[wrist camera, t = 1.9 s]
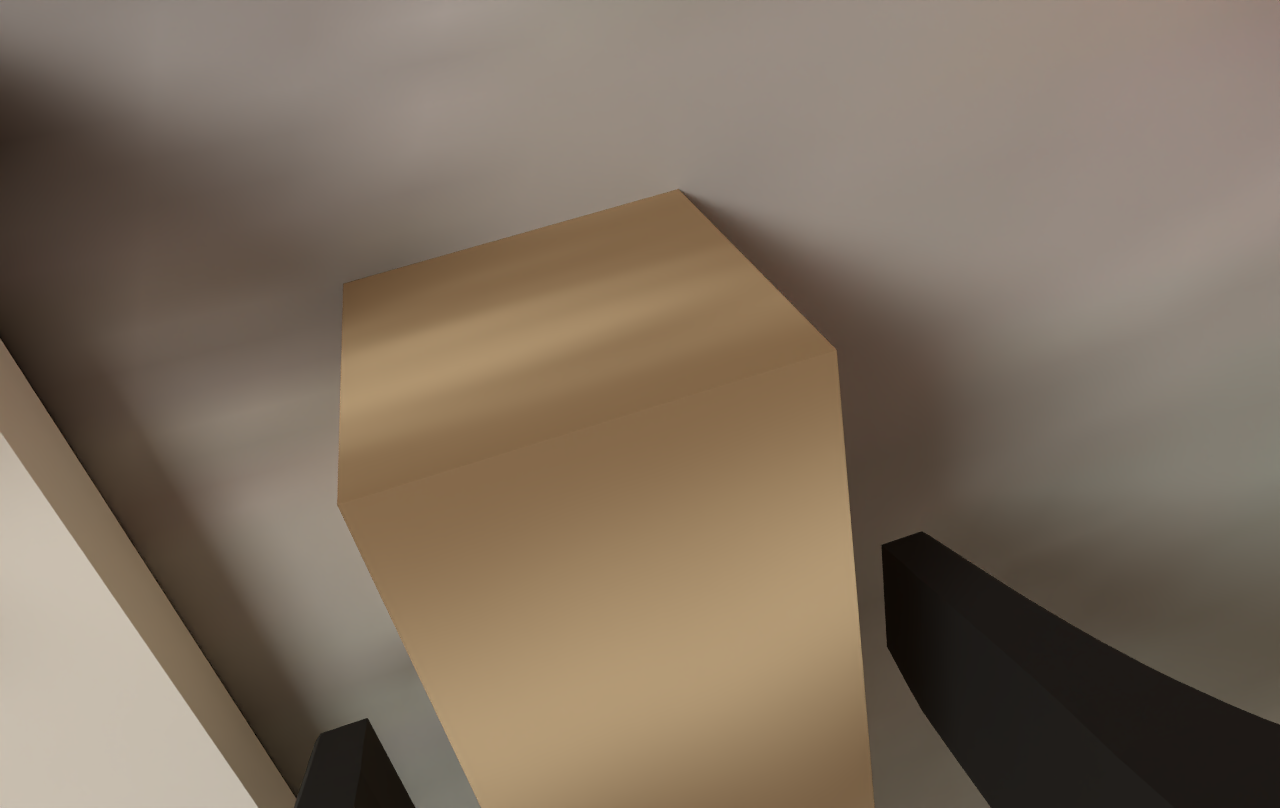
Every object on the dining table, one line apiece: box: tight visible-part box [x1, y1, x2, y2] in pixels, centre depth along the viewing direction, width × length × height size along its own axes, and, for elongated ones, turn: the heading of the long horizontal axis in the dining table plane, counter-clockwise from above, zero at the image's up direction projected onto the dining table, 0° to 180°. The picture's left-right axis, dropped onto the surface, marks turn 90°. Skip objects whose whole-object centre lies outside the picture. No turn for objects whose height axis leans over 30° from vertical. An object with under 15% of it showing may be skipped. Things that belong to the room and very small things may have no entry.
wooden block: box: [337, 189, 875, 808], centre depth 12 cm, size 12×4×4 cm, turn 11°
